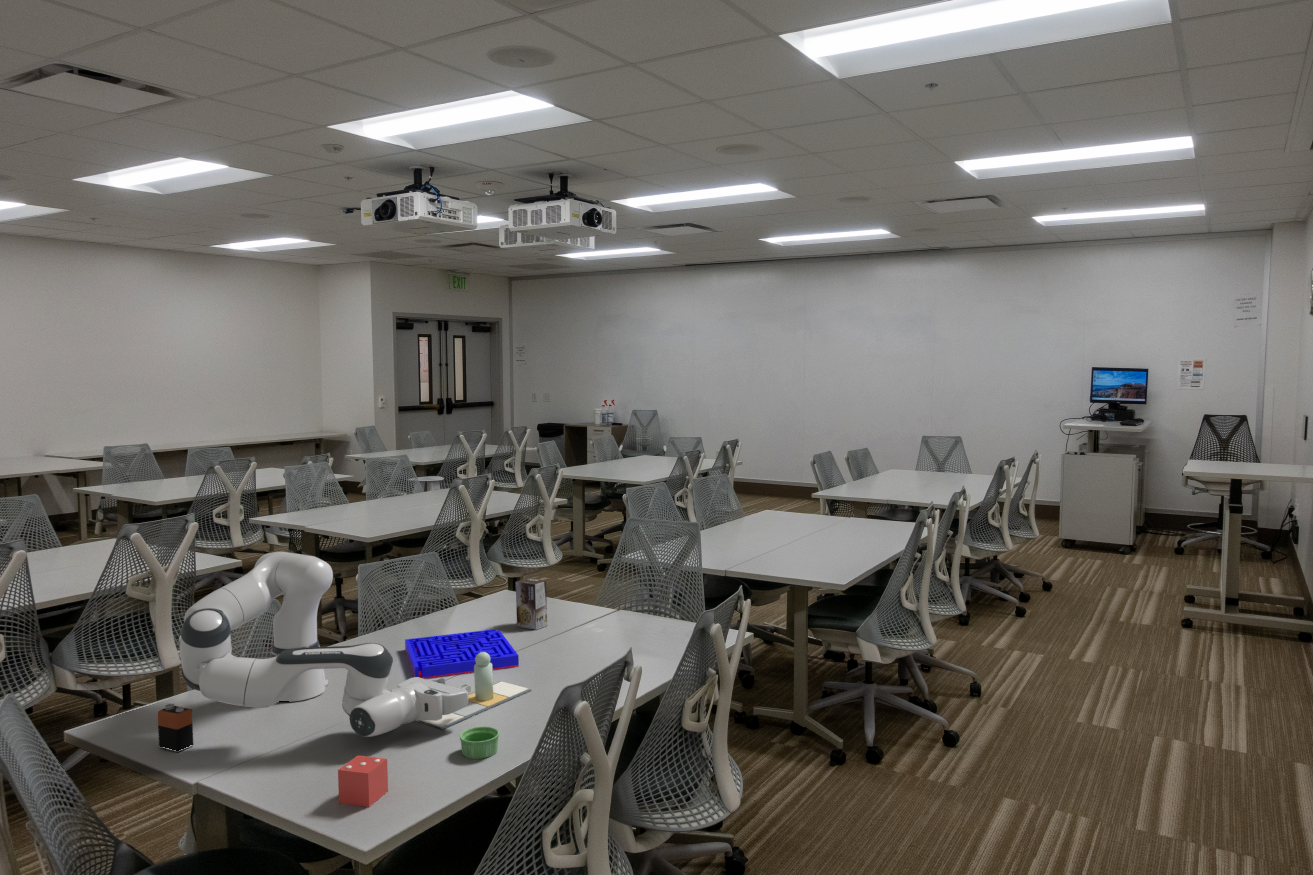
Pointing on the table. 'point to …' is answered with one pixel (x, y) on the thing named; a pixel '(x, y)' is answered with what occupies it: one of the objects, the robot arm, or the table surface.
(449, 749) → the table surface
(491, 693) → the pawn
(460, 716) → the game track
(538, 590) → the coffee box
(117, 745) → the table surface
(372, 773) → the red die
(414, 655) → the maze
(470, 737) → the ramekin
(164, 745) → the battery
